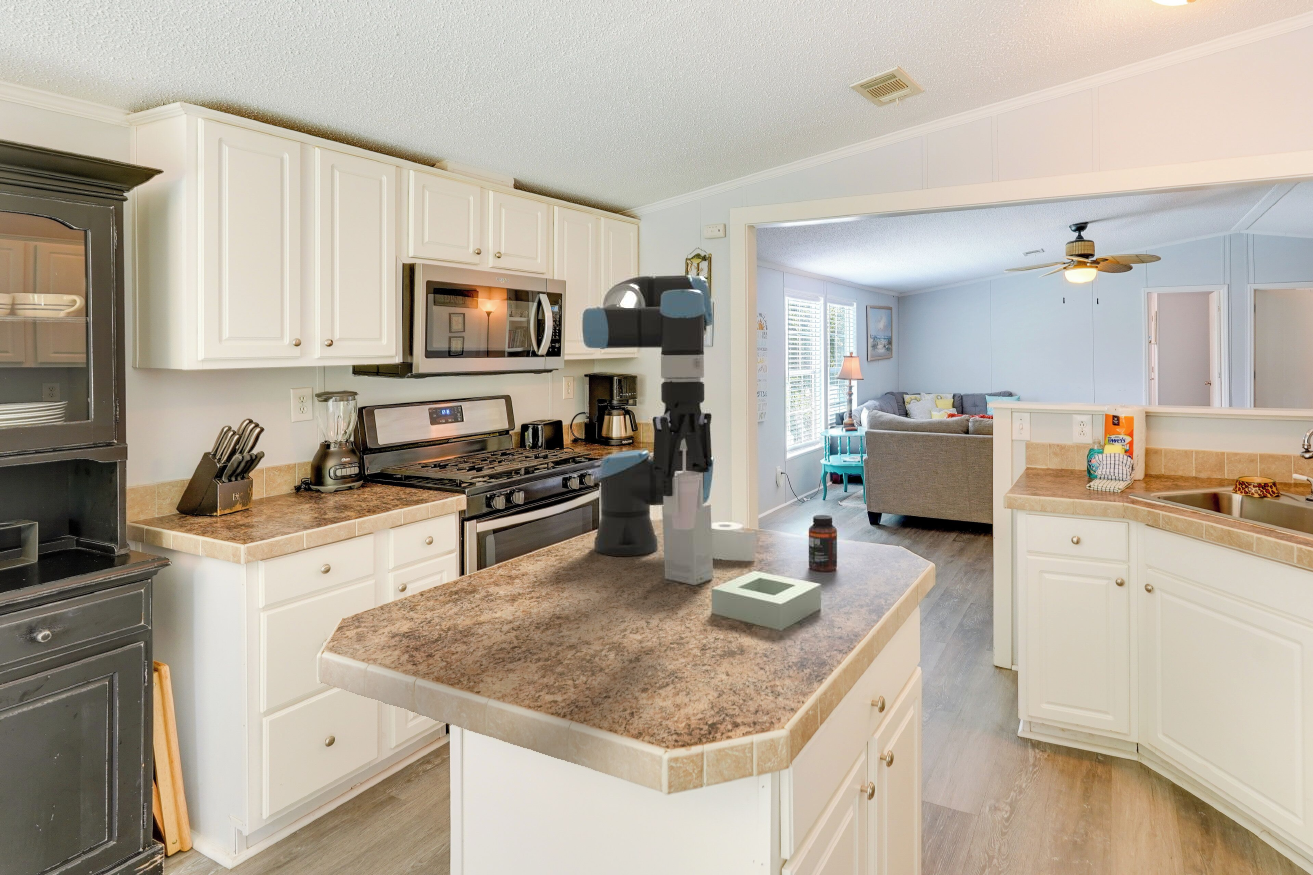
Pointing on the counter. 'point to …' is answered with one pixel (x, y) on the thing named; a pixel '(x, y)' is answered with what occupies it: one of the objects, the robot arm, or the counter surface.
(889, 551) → the counter surface
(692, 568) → the skincare box
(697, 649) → the counter surface
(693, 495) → the smoothie
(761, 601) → the block
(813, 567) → the supplement bottle
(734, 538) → the toilet paper
